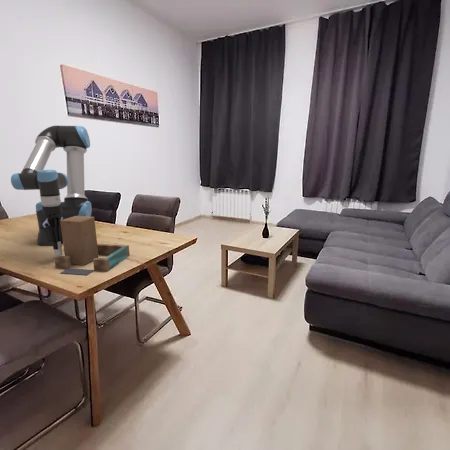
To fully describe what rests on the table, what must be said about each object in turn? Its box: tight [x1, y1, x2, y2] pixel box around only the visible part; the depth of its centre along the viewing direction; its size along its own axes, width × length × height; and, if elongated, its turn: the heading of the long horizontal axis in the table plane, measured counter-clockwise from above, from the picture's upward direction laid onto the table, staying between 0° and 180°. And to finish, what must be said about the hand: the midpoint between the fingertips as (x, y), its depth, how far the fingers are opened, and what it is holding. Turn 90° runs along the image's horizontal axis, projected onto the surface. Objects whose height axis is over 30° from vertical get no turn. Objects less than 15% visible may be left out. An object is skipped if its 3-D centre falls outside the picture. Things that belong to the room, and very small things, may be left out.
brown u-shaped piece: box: [53, 243, 130, 272], centre depth 131 cm, size 24×20×5 cm
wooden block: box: [60, 216, 100, 266], centre depth 130 cm, size 10×10×20 cm
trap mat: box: [59, 267, 94, 276], centre depth 120 cm, size 12×5×1 cm, turn 82°
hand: (58, 255), depth 133 cm, fingers closed
